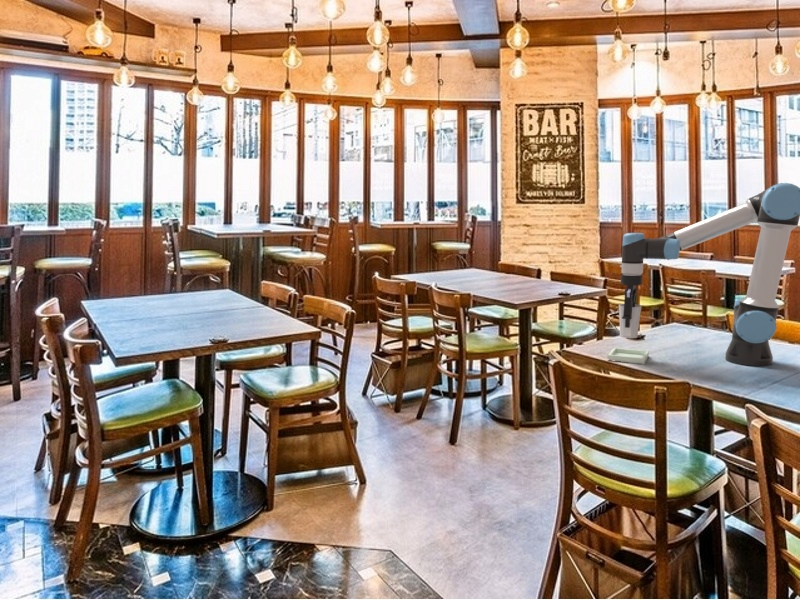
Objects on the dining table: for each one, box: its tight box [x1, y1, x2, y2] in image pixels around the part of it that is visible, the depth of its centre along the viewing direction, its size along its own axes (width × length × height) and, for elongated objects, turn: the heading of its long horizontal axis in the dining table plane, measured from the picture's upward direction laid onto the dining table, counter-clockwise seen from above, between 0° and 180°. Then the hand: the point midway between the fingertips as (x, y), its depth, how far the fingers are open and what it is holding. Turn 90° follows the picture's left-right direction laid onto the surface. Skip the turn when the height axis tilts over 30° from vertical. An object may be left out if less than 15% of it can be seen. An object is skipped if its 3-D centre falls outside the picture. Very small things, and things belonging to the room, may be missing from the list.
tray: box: [607, 347, 650, 365], centre depth 222 cm, size 13×13×2 cm
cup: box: [618, 303, 642, 339], centre depth 219 cm, size 8×8×12 cm
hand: (628, 333), depth 220 cm, fingers closed on cup, 7 cm apart
